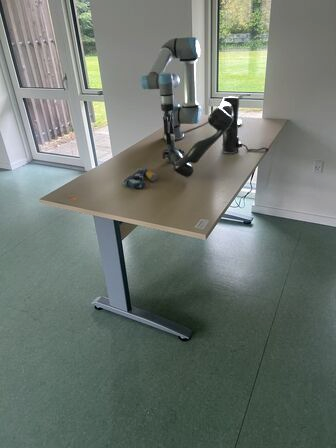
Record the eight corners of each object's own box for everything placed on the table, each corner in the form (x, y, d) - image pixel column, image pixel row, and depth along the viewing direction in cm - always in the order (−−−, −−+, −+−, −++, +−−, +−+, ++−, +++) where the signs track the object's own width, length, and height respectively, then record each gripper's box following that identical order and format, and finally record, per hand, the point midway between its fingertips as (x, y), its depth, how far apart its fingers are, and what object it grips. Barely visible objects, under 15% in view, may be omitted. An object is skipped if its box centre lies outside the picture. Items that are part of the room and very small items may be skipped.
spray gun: (162, 175, 189) (139, 172, 195) (161, 168, 187) (138, 166, 193) (144, 191, 174) (120, 188, 180) (143, 184, 171) (119, 181, 178)
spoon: (234, 136, 244) (234, 133, 243) (220, 136, 248) (220, 133, 247) (243, 120, 270) (243, 118, 269) (230, 120, 274) (230, 118, 273)
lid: (169, 141, 198) (169, 137, 197) (163, 139, 202) (163, 135, 201) (176, 138, 201) (176, 134, 200) (170, 136, 205) (170, 133, 204)
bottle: (166, 161, 208) (164, 137, 200) (169, 159, 212) (167, 134, 204) (174, 162, 206) (172, 137, 198) (176, 159, 210) (174, 135, 202)
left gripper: (165, 99, 199) (168, 137, 211) (156, 106, 184) (159, 147, 196) (178, 99, 197) (180, 137, 209) (169, 106, 182) (172, 147, 194)
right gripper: (188, 150, 193) (180, 142, 207) (163, 154, 191) (158, 145, 205) (188, 163, 197) (181, 153, 211) (165, 166, 195) (159, 157, 209)
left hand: (170, 142), depth 203 cm, fingers closed on lid, 6 cm apart
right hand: (170, 149), depth 208 cm, fingers closed on bottle, 5 cm apart
